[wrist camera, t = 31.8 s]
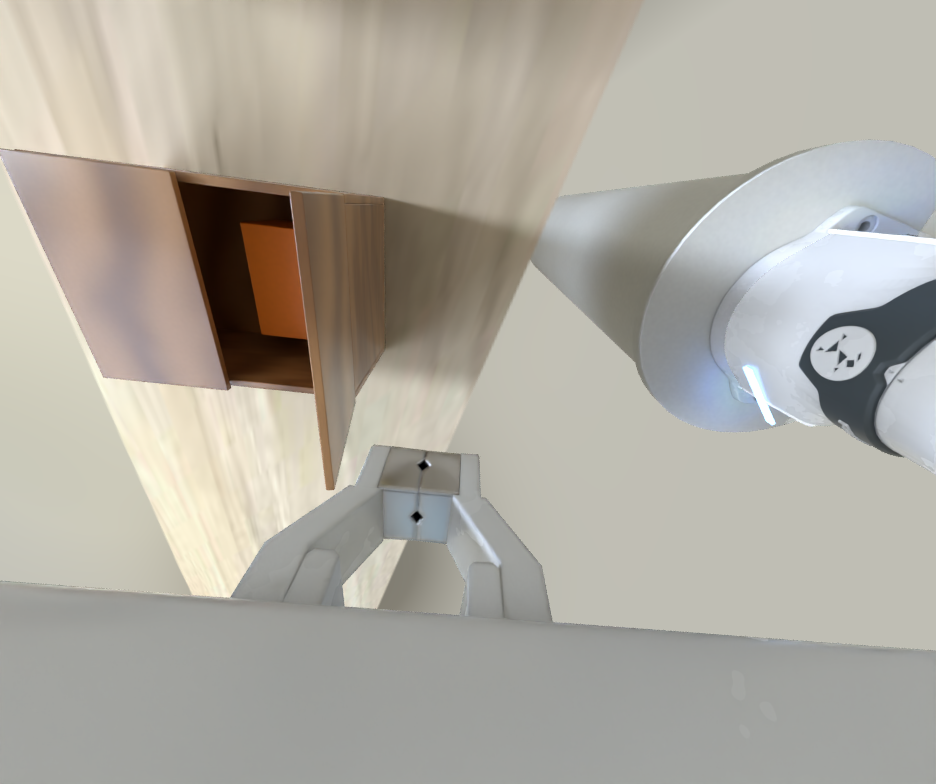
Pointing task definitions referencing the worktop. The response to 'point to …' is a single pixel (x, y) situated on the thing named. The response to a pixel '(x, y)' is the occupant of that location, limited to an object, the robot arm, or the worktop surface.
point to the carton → (185, 270)
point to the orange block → (275, 277)
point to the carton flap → (326, 317)
